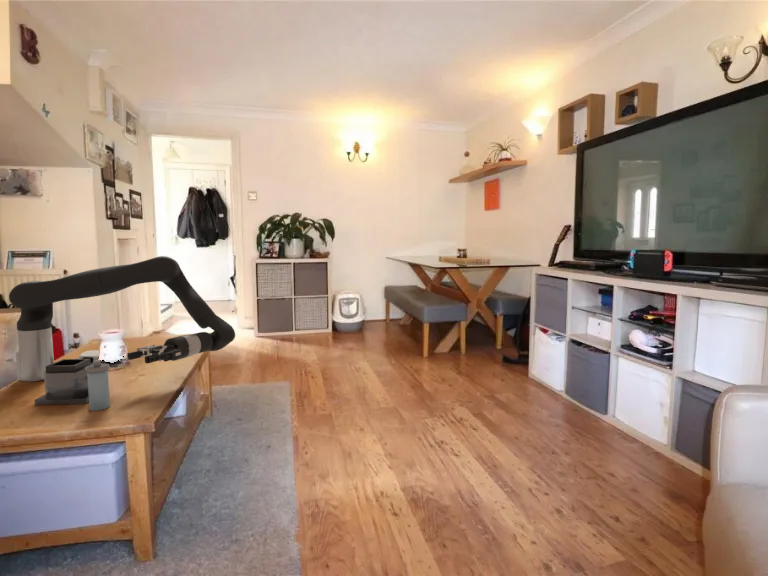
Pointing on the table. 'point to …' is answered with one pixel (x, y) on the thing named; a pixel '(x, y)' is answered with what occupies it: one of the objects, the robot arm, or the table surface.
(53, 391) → the dark grey holder
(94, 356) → the robot toy
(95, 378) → the grey lidded canister
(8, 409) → the table surface
